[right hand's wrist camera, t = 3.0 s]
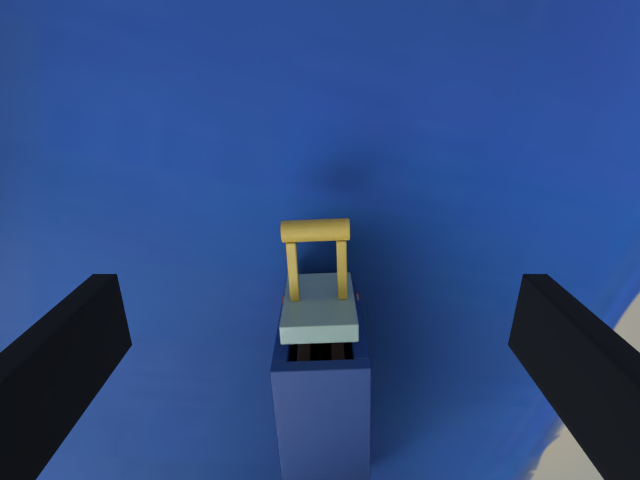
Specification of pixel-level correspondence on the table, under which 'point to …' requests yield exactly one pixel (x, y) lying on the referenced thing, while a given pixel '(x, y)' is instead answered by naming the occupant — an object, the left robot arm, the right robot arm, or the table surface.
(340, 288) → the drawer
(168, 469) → the table surface
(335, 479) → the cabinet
